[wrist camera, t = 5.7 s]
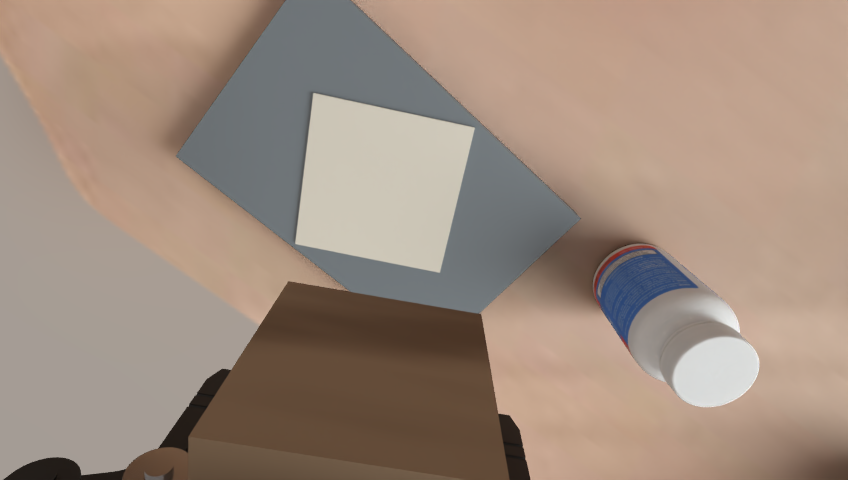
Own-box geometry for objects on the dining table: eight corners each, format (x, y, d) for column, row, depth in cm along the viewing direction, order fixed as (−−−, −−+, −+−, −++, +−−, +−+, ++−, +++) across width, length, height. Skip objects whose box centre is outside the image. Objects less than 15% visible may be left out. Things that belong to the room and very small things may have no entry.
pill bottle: (576, 301, 32) (631, 399, 23) (615, 229, 30) (692, 305, 21) (649, 327, 33) (732, 433, 24) (692, 258, 31) (800, 343, 22)
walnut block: (288, 281, 14) (188, 436, 8) (480, 314, 14) (510, 486, 8) (275, 433, 16) (187, 642, 10) (444, 460, 16) (448, 677, 11)
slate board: (185, 152, 29) (173, 156, 28) (316, -32, 25) (310, -37, 24) (433, 345, 34) (433, 357, 32) (575, 212, 30) (581, 219, 29)
